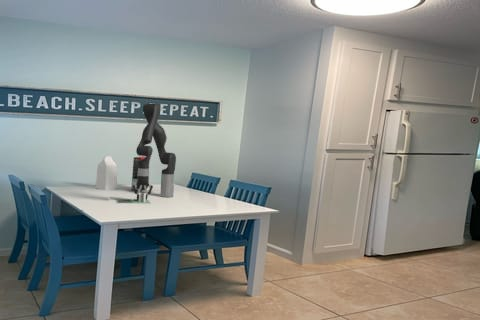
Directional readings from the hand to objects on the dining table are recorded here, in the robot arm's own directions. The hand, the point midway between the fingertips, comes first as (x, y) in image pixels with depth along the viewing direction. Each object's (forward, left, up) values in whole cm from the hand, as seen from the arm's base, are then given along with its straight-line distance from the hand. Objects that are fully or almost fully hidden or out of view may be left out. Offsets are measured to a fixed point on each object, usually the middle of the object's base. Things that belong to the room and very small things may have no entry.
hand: (141, 200), depth 307 cm
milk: (+20, -66, -2) cm, 69 cm away
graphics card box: (-5, -59, -2) cm, 59 cm away
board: (+6, 0, -2) cm, 6 cm away
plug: (0, 0, -1) cm, 1 cm away
